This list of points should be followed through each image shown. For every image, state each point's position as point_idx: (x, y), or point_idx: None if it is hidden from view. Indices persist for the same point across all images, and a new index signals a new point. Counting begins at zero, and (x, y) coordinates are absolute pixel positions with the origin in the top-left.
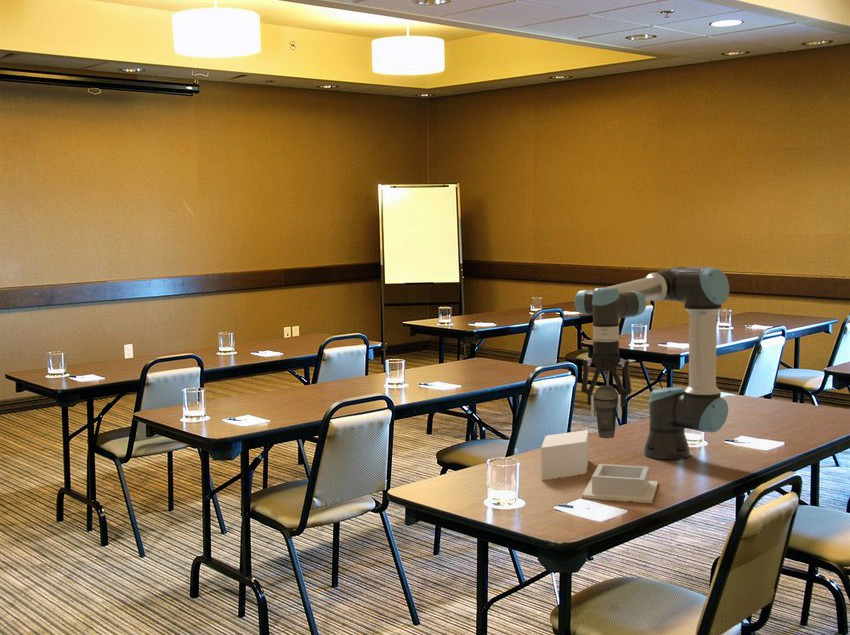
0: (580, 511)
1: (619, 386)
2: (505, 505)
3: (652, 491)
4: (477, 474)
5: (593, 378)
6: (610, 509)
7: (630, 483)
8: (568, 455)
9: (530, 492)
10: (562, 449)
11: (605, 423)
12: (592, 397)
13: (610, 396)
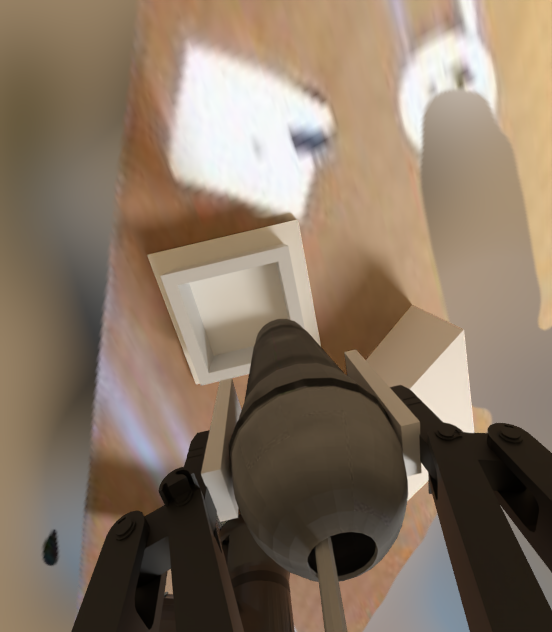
0: (263, 111)
1: (194, 569)
2: (440, 72)
3: (174, 314)
4: (543, 284)
5: (537, 606)
6: (209, 163)
7: (195, 266)
8: (391, 377)
9: (411, 209)
10: (411, 373)
11: (280, 336)
12: (400, 413)
13: (260, 427)
